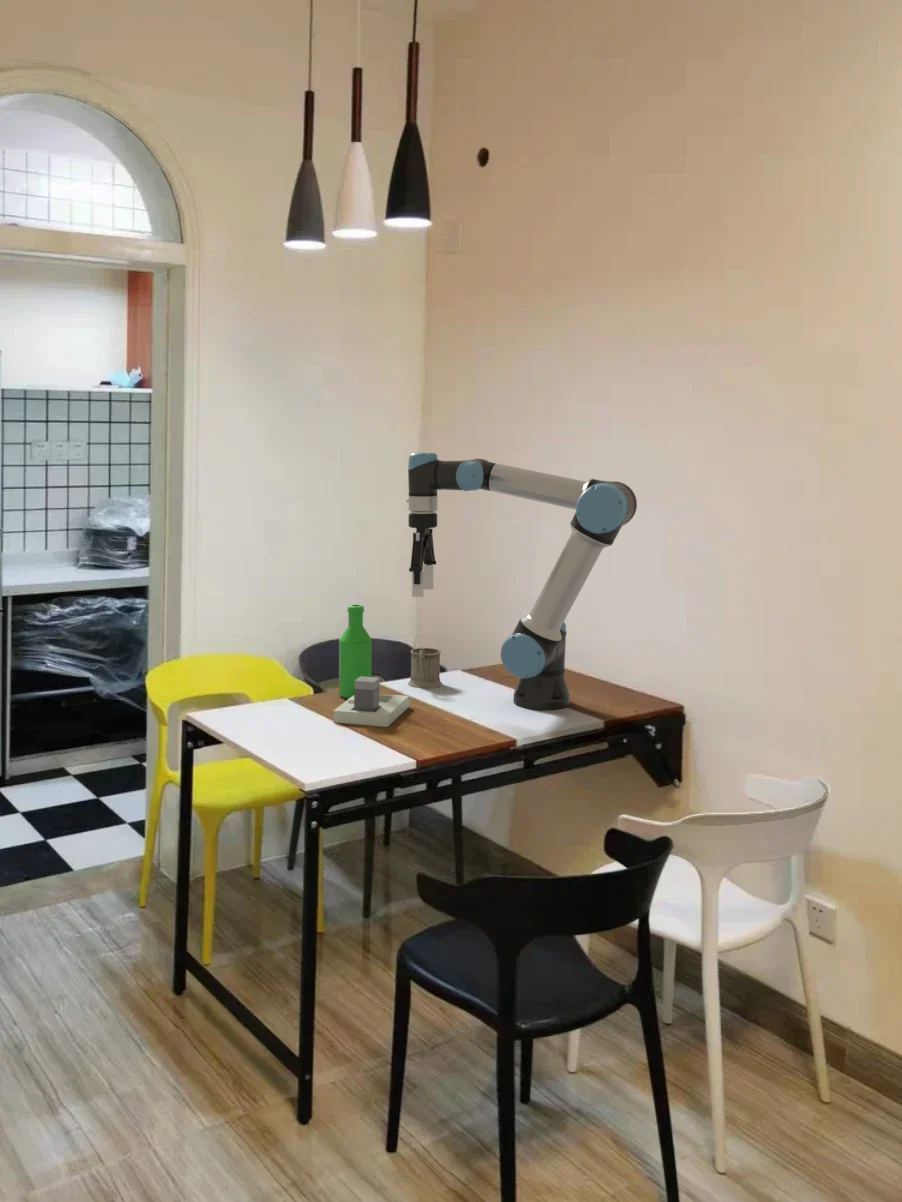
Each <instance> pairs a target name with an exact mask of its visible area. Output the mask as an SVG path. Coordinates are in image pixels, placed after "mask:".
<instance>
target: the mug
mask: <svg viewBox="0 0 902 1202" xmlns="http://www.w3.org/2000/svg"><path fill="white" fill-rule="evenodd" d="M441 653H442V651H441V650H440V649H437V648H431V647H425V646H419V647H418V648H412V649H411V650H410V654H411V655H410V656H411V659H410V660H411V661H410V662H411V664H410V665H411V666H410V667H411V668H410V672H411V673H410V680H409V681H408V682H407V685H408V686H410V687H411V688H416V689H417V688H419V689H435V688H440V687H441V686H443V682H442V681H441V677H440V675H441V674H440V673H441V672H440V670H441V658H440V657H441Z"/></svg>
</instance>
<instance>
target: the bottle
mask: <svg viewBox="0 0 902 1202" xmlns="http://www.w3.org/2000/svg"><path fill="white" fill-rule="evenodd" d="M364 612H365V607H364V605H362V604H351V605H347V613H348V617H347V618H348V620H347V621H348V624H347V627H346V629H345V630H344V631H343V633H342V634H341V636H340V638H339V639H338V641H339V642H338V657H339V658H338V665H339V666H338V693H339V695H340V696H341V697H343V698H344V699H347V700H348V699H349V698H350V697H352V696H353V695H354V681H355V680H356V679H357V678H359V677H360V676H363V677H372V646H373V645H372V644H373V643H372V642H373V641H372V637H371V636H370V634H369V633H368V631H367V630H366V628H365V627H364V625H363V624H364V623H363V622H364V621H363V620H364Z"/></svg>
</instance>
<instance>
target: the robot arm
mask: <svg viewBox="0 0 902 1202" xmlns="http://www.w3.org/2000/svg"><path fill="white" fill-rule="evenodd" d="M407 472H408V473H407V477H408V499H406V503H407V504H408V512H410V513H409V514H408V527H409V528H413V529H416V531H415V532H413V534H412V547H411V548H412V549H411V559H410V560H411V561H410V567H408V571H409V572H410V573H412V574H411V577H412V579H411V580H412V585H411V586H412V587H411V588H412V590H411V591H412V592H411V593H412V597H413V598H423V597H424V590H434V566H435V565H437V560H436V557H435V549H434V548H435V547H434V538H433V537H434V536H433V531H434V528H436V527H438V513H436V512H438V509H439V508H438V490H439V491H448V490H449V491H464V492H468V491H469V492H470V491H478V490H483V491H489V492H494V493H498V494H502V495H509V496H512V497H513V496H514V497H515V498H516V497H517V498H521V499H526V500H530V501H536V502H538V503H539V502H540V503H545V504H548V505H554V506H557V507H563V508H568V509H570V510H575V512H574V515H573V517H572V519H571V520H570V523H569V526H570V530H571V535H570V536H569V538H568V539H567V541H566V544H565V545H564V548H563V549H562V552H560V555H559V557H558V559H557V561H556V563H555V565H554V567H553V569H552V570H551V572H550V574H549V576H548V578H547V580H546V582H545V584H544V586H543V587H542V589H541V591H540V593H539V595H538V596H537V599H536V601H535V602H534V604H533V607H532V609H531V611H530V613H528V614H524V615H522V616H521V617H520V619H519V620H518V622H517V624H516V626H515V627H514V630H513V632H512V633H511V635H509V636H508V637H506V639H505V640H504V641H503V643H502V645H501V647H500V660H501V662H502V665H503V666H504V668H505V670H506V671H507V672H509V673H510V674H511V675H512V676H514V677H517V678H519V679H518V681H517V684H516V686H515V688H514V692H513V703H514V704H515V705H516V706H518V707H519V706H520V707H522V708H526V709H533V710H559V709H564V708H566V707H567V708H568V707H569V705H570V703H571V695H570V691H569V689H568V685H567V681H566V678H565V665H566V664H565V663H566V645H567V643H566V640H567V624H566V623H565V620H566V618H567V617H568V615H569V613H570V610H571V609H572V607H573V605H574V604H575V601H576V600H577V598H578V596H579V594H580V592H581V591H582V589H583V587H584V586H585V582H586V581H587V579H588V577H589V575H590V573H591V571H592V570H593V568H594V566H595V564H596V562H597V561H598V558H599V557H600V555H601V553H602V551H603V549H605V548H608V547H611V546H612V545H613V544H614V541H615V540H616V538H617V536H618V535H619V532H620V531H621V529H622V527H623V526H626V525H627V524H628V523H629V522H631V520H633V518H634V516H635V515H636V512H637V507H638V499H637V496H636V494H635V492H634V491H633V489H632V488H631V487H630V486H628V485H627V484H625V483H624V482H621V481H610V480H602V479H601V480H599V479H594V478H591V479H588V480H587V481H584V480H578V479H574V478H570V477H564V476H560V475H555V474H551V473H545V472H541V471H537V470H530V469H526V468H520V467H516V466H511V465H506V464H502V463H496V462H492V461H489V460H487V459H484V458H483V459H482V458H474V459H465V460H441V459H440V460H439V458H438V455H437V453H436V452H412V453H410V454H409V455H408V468H407Z"/></svg>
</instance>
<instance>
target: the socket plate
mask: <svg viewBox="0 0 902 1202" xmlns="http://www.w3.org/2000/svg"><path fill="white" fill-rule="evenodd" d="M409 701H410V695H402V694H386V693H379V709H378V710H377V711H376V712H368V711H355V710H354V695H353V696H352V697H350V698H349V699H348V698H347V700H345V701H344V702H342V704H340V705H339V706H338V707H336V708H335V709H333V723H337V724H349V725H360V726H370V727H385V728H388V727H389V726H390V725H391V724H393V723H394V722H395V721H396V720H397V719H398V718H399V717H400V716H401V715H403V713H404V712H405V711H407V710H408V708H409V707H410V702H409Z"/></svg>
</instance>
